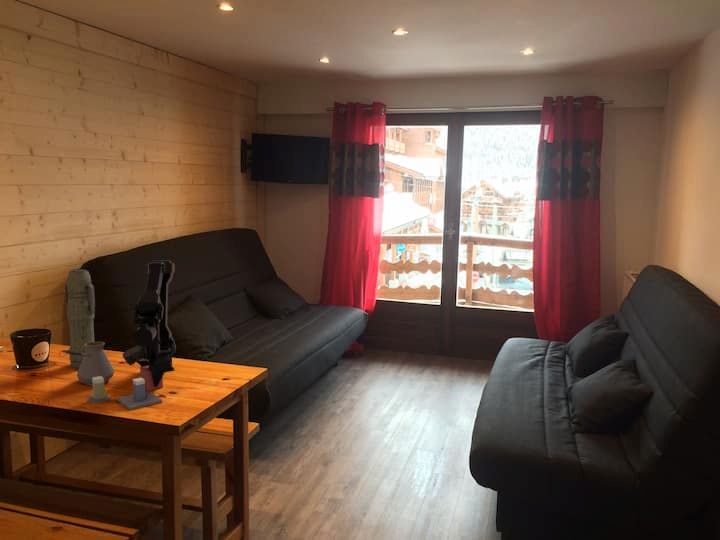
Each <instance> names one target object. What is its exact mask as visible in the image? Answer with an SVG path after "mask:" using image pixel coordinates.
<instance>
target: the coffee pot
mask: <svg viewBox="0 0 720 540" xmlns="http://www.w3.org/2000/svg"><path fill="white" fill-rule="evenodd" d="M105 345H106V343H105V342H104V341H94V342H89V343H85V344H84V347H85V348H86V353H80V352H76V351H69V349H67V350H66V349H62V351H61V350H60V352H59V353H58V355H59V356H60V357H61V358H64V357H65V356H66V355H69V354H72V355H82V356H84V358H83V360H82V363H81V365H80V368H79V369H77V372H76V373H77V374H76V377H77V379H78V380H79V381H80V382H82V383H83V384H84V385H86V386H87V385H88V386H92V378H93V377H98V376H102V377H103V378H104V384H105V383H107V382H109V380H111V379H112V377H113V376H114V374H115V368H114V367H113V365H112V364H111V361H110V360H109V358H108V356H107V354H106V352H105V350H104V346H105ZM61 353H64V355H63V356H62V355H61Z"/></svg>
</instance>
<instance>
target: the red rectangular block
mask: <svg viewBox="0 0 720 540" xmlns="http://www.w3.org/2000/svg"><path fill="white" fill-rule="evenodd" d="M147 368H149V366H144V367H141V366H140V367H139V371H140V378H143V379H144V380H145V391H155V390H157V389H161V388H162V389H163V387H164V384H163V383H164V382H163V381H164V379H163V376H164V375H163V376H162V378H161V381H160V383H159V385H158V386H157V387H154V384H153V379H152V373H151V371H149V370H148V369H147Z"/></svg>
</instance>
